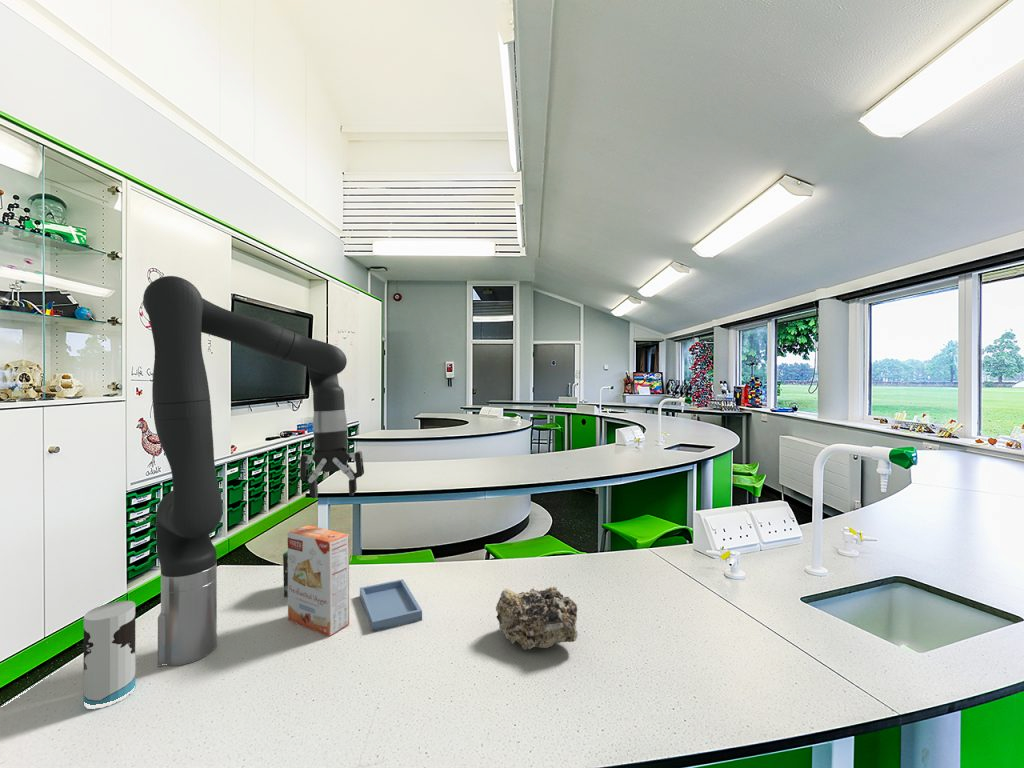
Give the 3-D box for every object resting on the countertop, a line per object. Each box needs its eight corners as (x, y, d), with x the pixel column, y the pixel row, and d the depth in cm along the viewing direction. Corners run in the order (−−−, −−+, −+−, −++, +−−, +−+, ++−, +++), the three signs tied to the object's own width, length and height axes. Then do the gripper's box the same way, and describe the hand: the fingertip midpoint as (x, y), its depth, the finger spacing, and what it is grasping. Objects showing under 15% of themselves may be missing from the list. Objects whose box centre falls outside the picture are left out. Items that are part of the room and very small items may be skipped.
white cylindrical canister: (144, 681, 82) (144, 599, 82) (115, 708, 75) (115, 619, 75) (104, 684, 81) (104, 601, 81) (72, 711, 74) (72, 621, 74)
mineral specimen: (576, 663, 87) (576, 612, 87) (488, 652, 91) (488, 603, 91) (580, 621, 102) (580, 578, 102) (504, 613, 106) (504, 571, 106)
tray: (372, 632, 98) (372, 622, 98) (359, 596, 115) (359, 587, 115) (422, 620, 103) (422, 610, 103) (403, 587, 120) (403, 579, 120)
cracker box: (285, 622, 102) (285, 531, 102) (308, 610, 107) (308, 523, 107) (328, 638, 96) (328, 541, 96) (350, 625, 101) (350, 532, 101)
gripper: (293, 432, 103) (297, 502, 103) (357, 429, 105) (360, 497, 105) (304, 429, 110) (307, 494, 111) (364, 426, 112) (367, 490, 112)
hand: (333, 496), depth 108 cm, fingers open, 8 cm apart
